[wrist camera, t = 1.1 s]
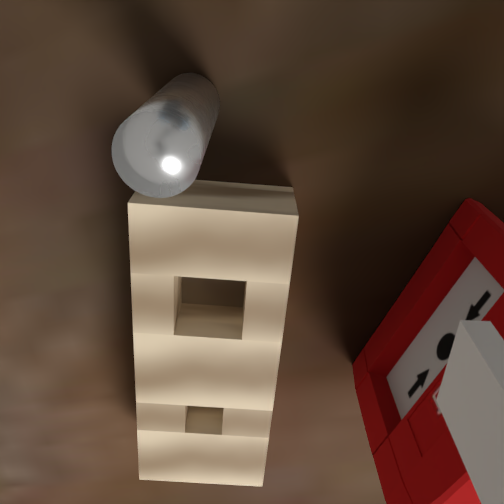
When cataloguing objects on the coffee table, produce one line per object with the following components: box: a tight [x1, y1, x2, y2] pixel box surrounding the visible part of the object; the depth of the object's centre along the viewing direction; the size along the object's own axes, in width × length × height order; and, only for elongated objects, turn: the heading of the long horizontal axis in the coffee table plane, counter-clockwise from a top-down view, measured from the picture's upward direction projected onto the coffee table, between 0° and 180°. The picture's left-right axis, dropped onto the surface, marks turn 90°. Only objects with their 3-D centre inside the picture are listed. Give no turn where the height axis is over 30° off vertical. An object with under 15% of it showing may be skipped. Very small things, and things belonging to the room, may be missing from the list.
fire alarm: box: [352, 198, 504, 504], centre depth 30 cm, size 16×11×15 cm
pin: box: [112, 73, 220, 198], centre depth 25 cm, size 4×4×12 cm
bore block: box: [128, 180, 299, 486], centre depth 36 cm, size 24×10×5 cm, turn 175°
